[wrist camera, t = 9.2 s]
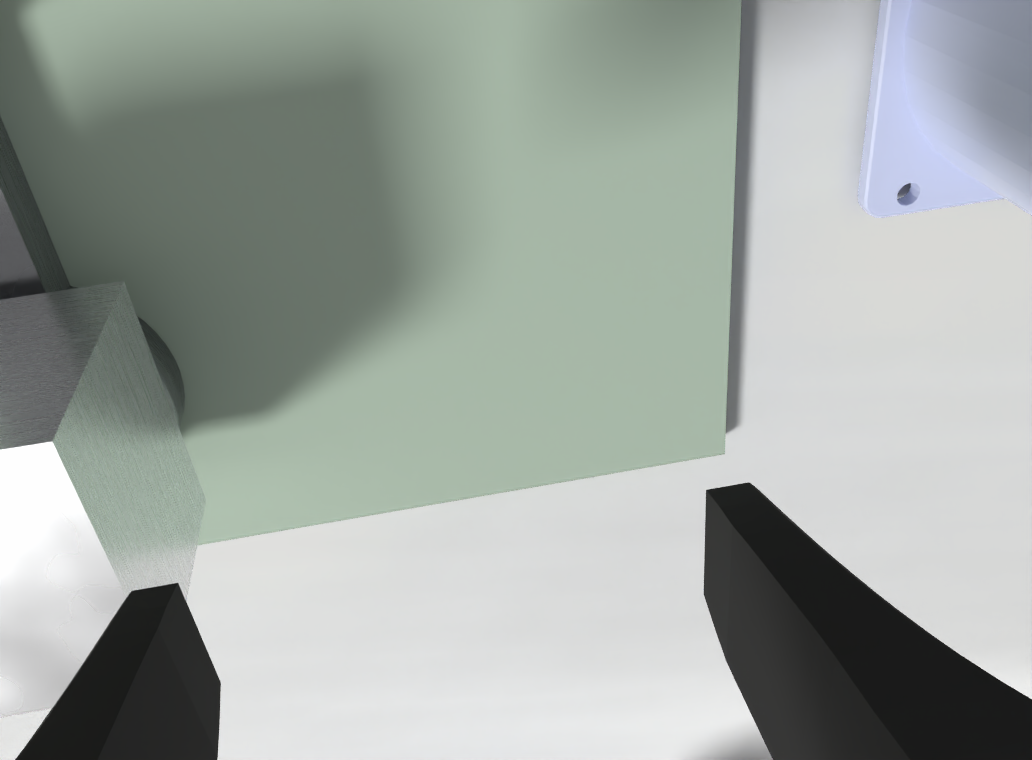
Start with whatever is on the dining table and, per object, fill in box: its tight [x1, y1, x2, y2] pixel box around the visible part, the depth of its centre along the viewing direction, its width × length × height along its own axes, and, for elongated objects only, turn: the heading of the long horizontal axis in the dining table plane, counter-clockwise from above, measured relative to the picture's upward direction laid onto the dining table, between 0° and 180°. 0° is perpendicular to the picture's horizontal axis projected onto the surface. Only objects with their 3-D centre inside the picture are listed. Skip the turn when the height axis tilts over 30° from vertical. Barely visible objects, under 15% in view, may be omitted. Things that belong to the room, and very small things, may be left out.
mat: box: [0, 0, 741, 545], centre depth 17 cm, size 26×22×1 cm
